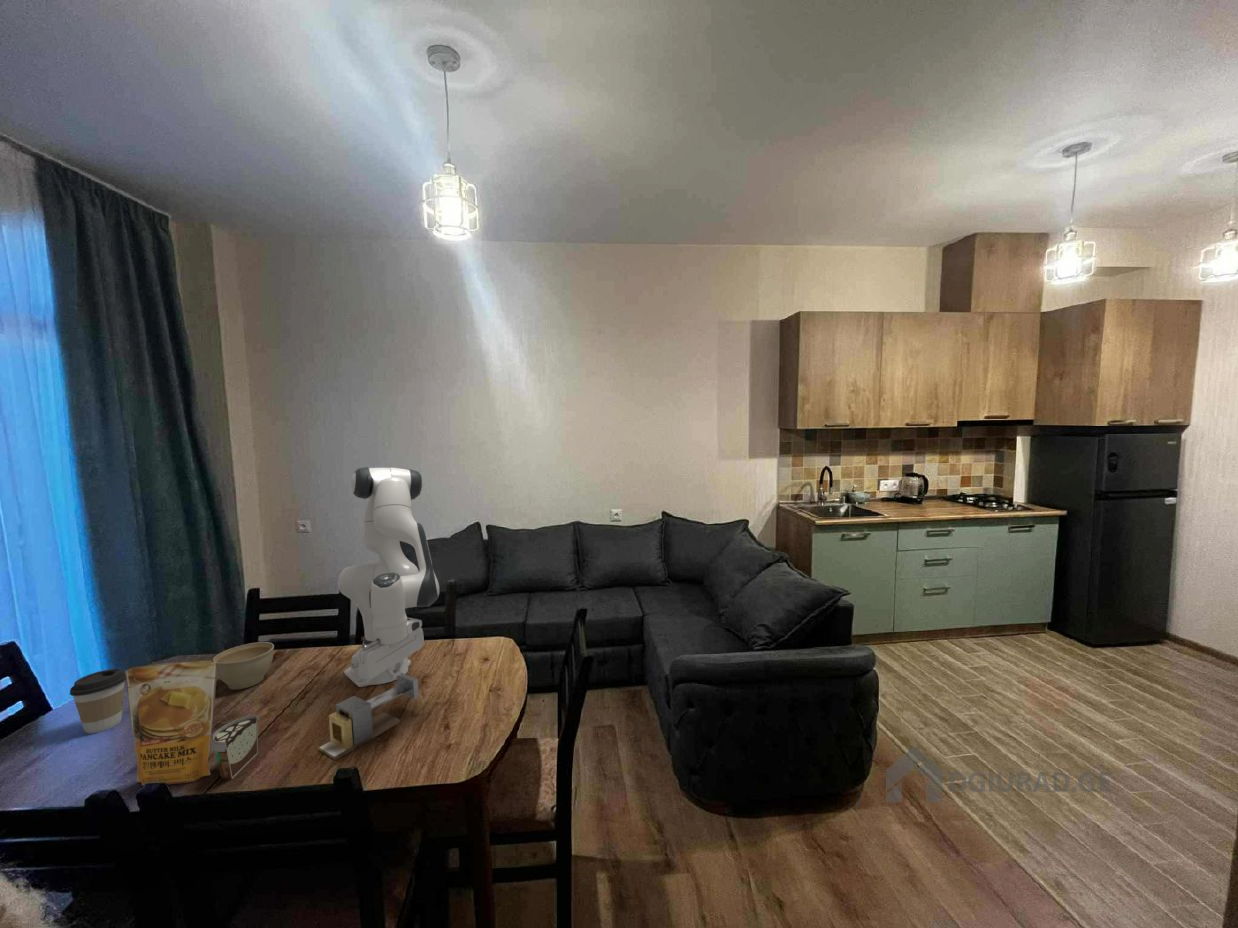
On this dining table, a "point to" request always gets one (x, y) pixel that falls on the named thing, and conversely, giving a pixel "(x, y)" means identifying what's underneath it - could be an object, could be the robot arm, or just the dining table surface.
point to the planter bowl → (244, 664)
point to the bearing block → (357, 718)
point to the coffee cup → (99, 699)
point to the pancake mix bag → (172, 719)
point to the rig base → (378, 726)
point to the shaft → (397, 691)
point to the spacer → (346, 729)
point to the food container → (236, 745)
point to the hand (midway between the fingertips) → (394, 677)
